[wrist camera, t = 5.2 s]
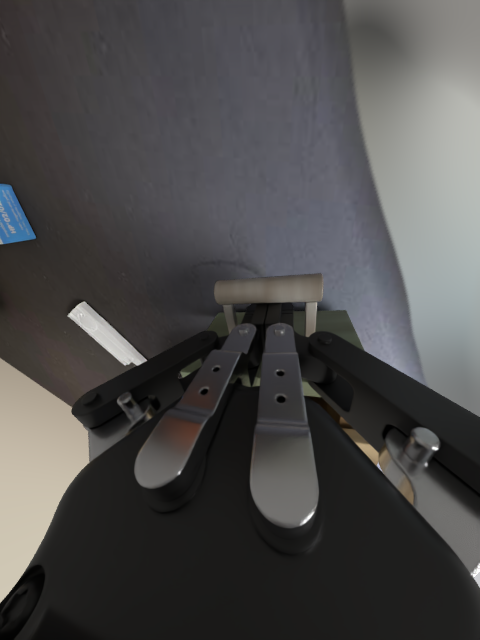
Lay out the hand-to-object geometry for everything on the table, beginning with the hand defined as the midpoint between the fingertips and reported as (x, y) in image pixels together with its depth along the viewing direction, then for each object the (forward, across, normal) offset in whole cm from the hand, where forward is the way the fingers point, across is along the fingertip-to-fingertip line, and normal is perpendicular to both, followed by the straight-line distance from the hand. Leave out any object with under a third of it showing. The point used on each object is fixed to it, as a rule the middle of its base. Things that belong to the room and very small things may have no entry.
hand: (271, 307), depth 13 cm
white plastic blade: (+5, +23, +8) cm, 25 cm away
